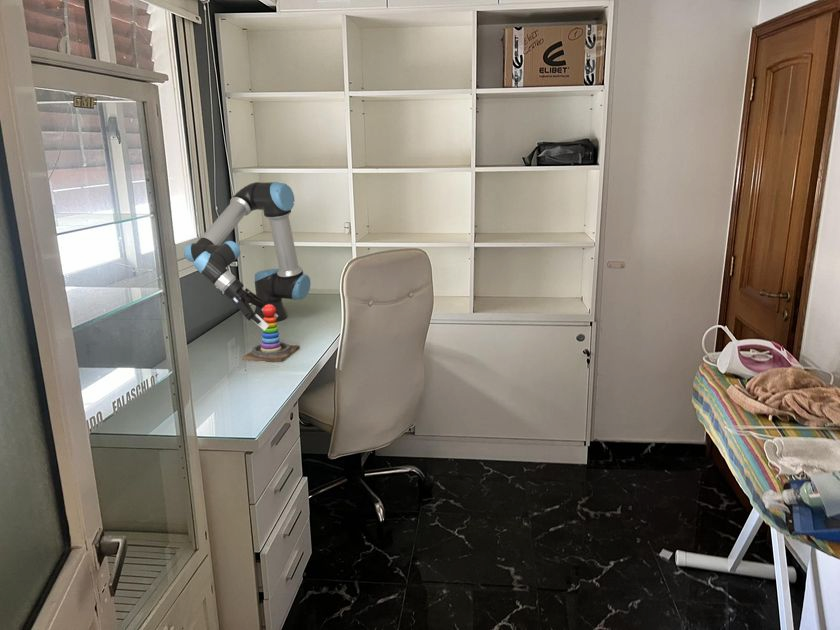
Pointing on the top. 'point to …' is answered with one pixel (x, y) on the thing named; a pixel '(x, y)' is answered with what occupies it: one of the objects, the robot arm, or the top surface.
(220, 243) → the robot arm
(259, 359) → the collar board
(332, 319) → the top surface
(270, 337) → the stacking toy
